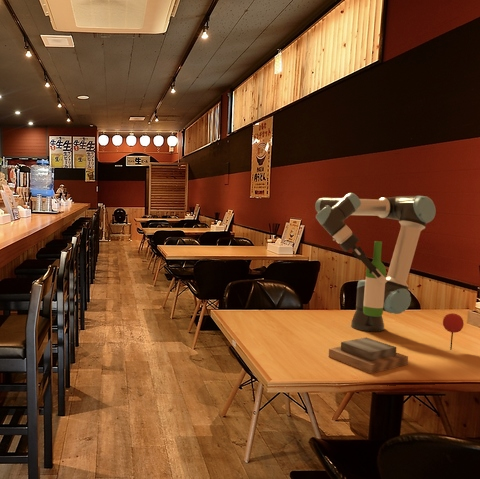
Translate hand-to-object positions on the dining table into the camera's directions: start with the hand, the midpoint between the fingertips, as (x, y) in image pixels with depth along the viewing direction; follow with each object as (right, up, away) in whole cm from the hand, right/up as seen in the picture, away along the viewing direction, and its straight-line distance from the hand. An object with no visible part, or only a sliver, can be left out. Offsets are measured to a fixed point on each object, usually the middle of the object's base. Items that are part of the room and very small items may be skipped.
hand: (384, 281), depth 187 cm
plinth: (-11, -28, -15) cm, 34 cm away
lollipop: (+28, -29, +3) cm, 40 cm away
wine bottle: (-4, -14, +2) cm, 15 cm away
